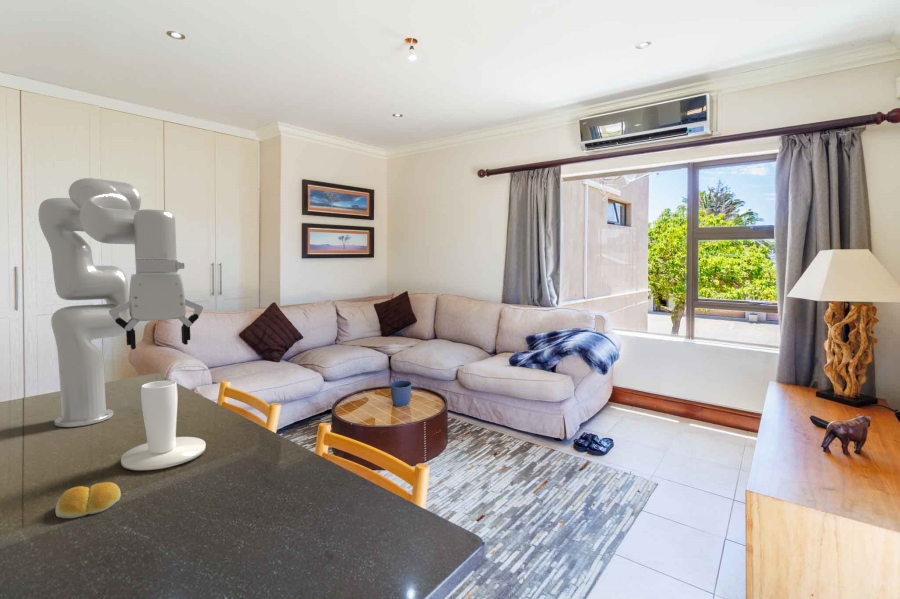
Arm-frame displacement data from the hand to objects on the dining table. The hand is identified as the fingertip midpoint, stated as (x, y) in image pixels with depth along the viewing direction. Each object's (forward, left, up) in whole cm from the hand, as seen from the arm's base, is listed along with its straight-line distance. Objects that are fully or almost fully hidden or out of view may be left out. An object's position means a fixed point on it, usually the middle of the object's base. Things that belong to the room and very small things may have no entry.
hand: (159, 345), depth 100 cm
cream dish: (0, 0, -25) cm, 25 cm away
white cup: (0, 0, -24) cm, 24 cm away
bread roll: (+16, -13, -26) cm, 33 cm away
